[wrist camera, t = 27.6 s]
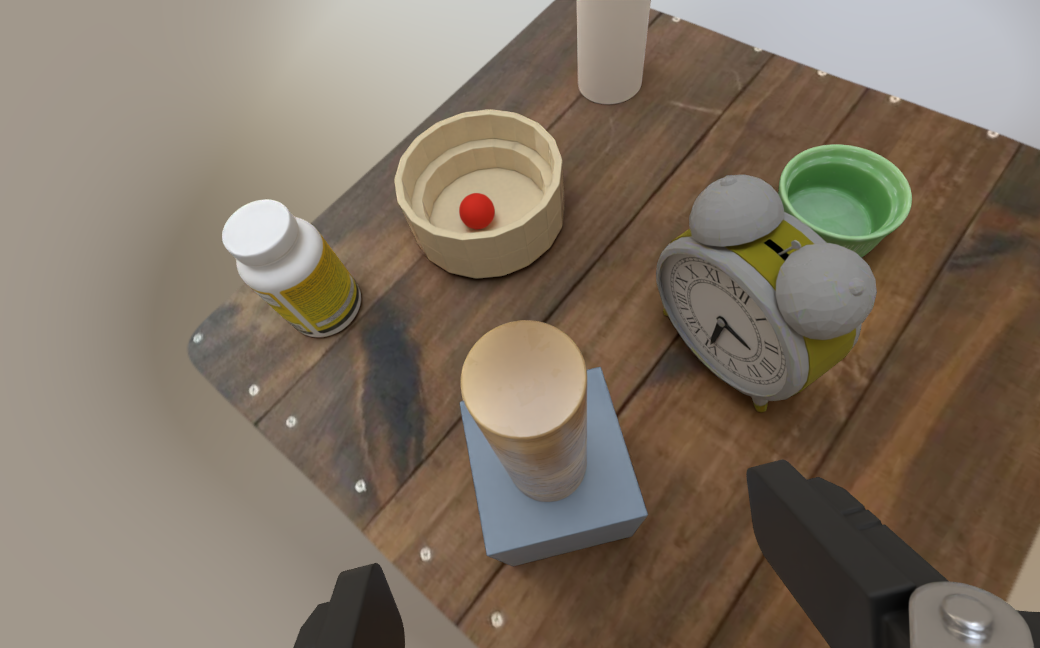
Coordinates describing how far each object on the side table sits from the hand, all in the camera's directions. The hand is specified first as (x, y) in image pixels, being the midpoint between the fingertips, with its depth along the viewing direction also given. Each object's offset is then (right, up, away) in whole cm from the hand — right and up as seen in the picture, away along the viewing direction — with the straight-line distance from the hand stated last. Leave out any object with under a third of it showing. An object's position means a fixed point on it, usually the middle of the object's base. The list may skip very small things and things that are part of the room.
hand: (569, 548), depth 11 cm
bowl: (-4, +14, +36) cm, 39 cm away
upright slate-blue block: (+1, -6, +25) cm, 26 cm away
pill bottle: (-17, +6, +34) cm, 39 cm away
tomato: (-5, +14, +34) cm, 37 cm away
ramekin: (+23, +13, +32) cm, 42 cm away
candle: (+8, +29, +42) cm, 52 cm away
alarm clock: (+14, +3, +29) cm, 32 cm away
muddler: (0, -2, +16) cm, 16 cm away
